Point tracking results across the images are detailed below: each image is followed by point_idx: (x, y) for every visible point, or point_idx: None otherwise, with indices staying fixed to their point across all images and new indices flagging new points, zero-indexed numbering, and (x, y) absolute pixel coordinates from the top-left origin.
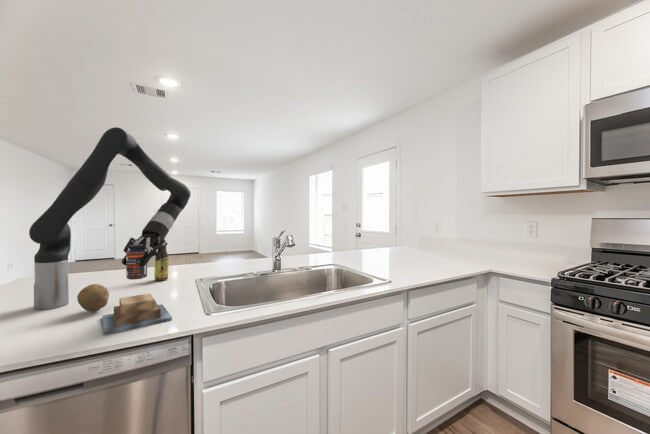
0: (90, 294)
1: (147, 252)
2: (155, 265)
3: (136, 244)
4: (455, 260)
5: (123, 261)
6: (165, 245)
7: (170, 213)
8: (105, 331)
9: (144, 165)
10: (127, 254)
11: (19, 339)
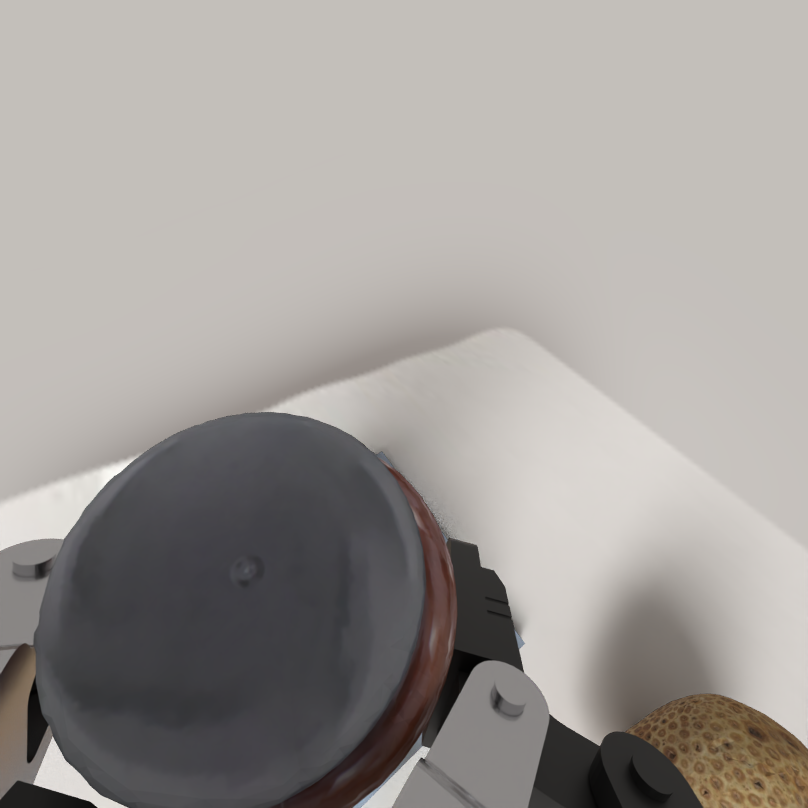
0: (700, 716)
1: (41, 542)
2: None
3: (288, 661)
4: None
5: (452, 540)
6: None
7: None
8: (380, 453)
9: None
10: (383, 463)
11: (633, 446)
